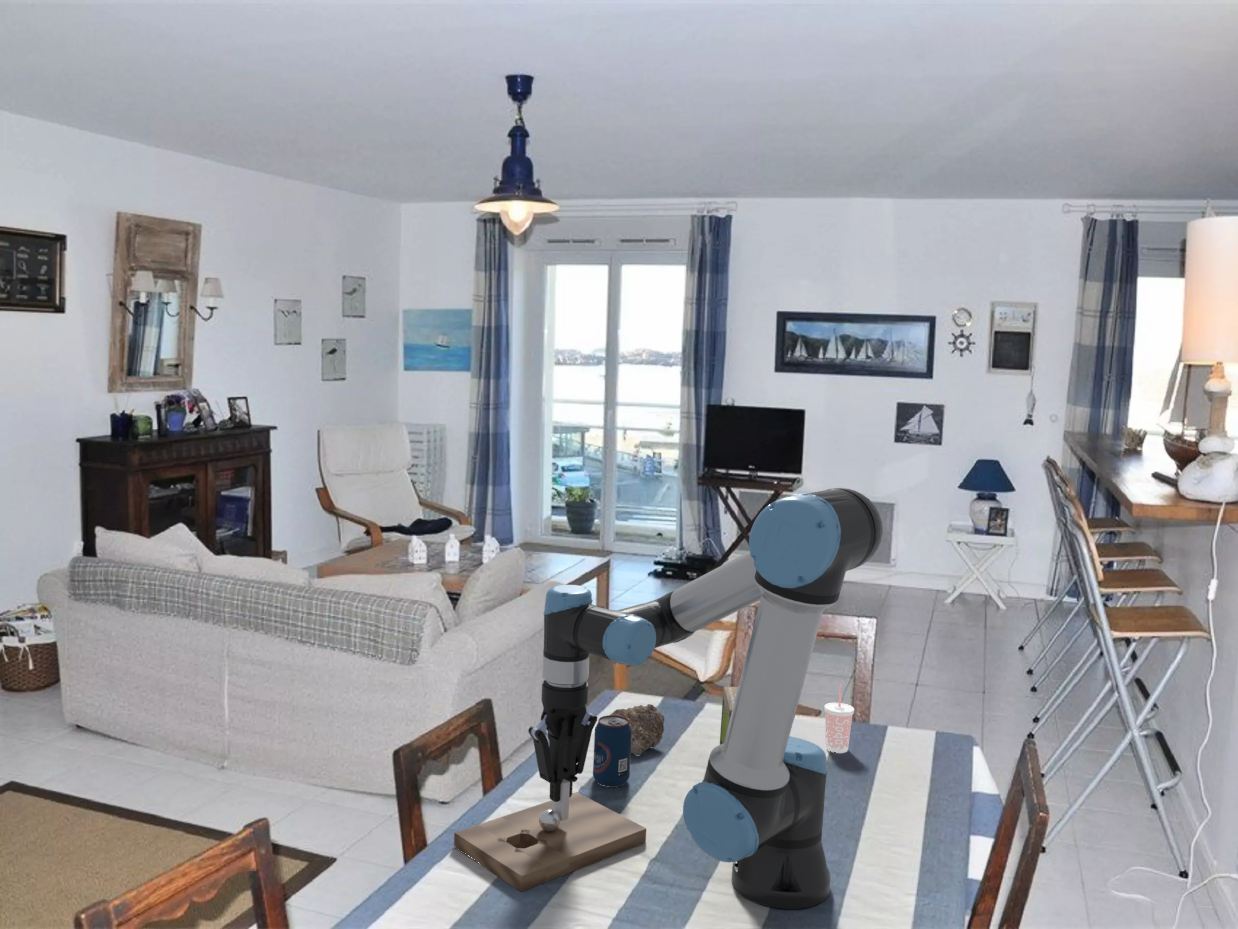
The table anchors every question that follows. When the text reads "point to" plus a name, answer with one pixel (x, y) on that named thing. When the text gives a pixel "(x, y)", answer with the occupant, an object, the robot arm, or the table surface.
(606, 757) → the soda can
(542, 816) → the steel ball
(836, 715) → the beverage cup
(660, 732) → the brown rock
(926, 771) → the table surface
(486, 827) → the walnut board
